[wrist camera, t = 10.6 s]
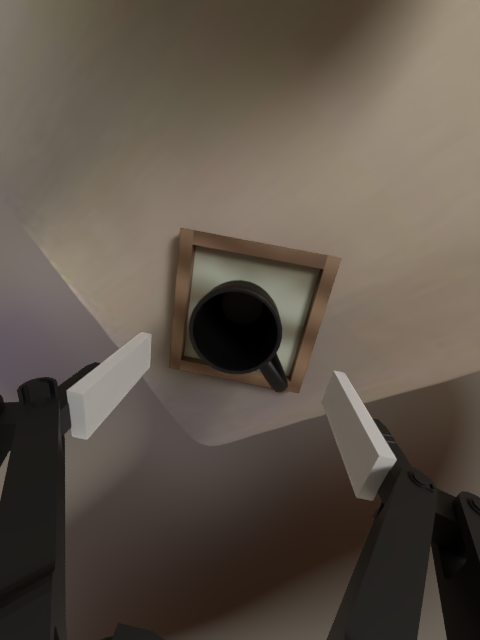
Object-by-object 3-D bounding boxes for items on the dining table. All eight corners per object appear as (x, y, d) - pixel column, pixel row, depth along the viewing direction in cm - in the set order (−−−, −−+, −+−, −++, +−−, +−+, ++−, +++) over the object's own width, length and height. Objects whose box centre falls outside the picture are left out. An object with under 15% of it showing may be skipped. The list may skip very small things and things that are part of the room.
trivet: (186, 229, 27) (180, 227, 25) (335, 256, 27) (341, 258, 25) (174, 359, 33) (168, 367, 31) (296, 383, 33) (298, 393, 31)
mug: (249, 367, 31) (245, 417, 22) (197, 296, 29) (169, 320, 20) (302, 338, 29) (321, 380, 20) (251, 258, 27) (247, 266, 18)
